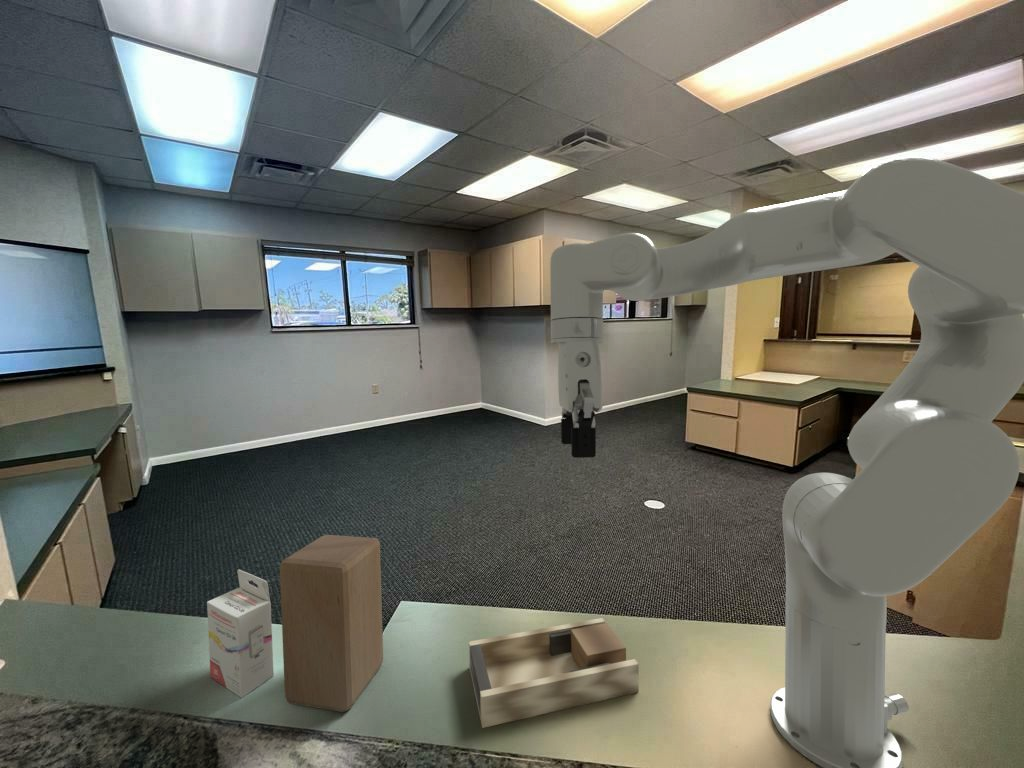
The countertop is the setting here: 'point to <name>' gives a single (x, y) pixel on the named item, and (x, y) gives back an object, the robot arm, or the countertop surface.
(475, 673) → the chute
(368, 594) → the block
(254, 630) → the ink cartridge box
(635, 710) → the countertop surface
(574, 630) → the block
